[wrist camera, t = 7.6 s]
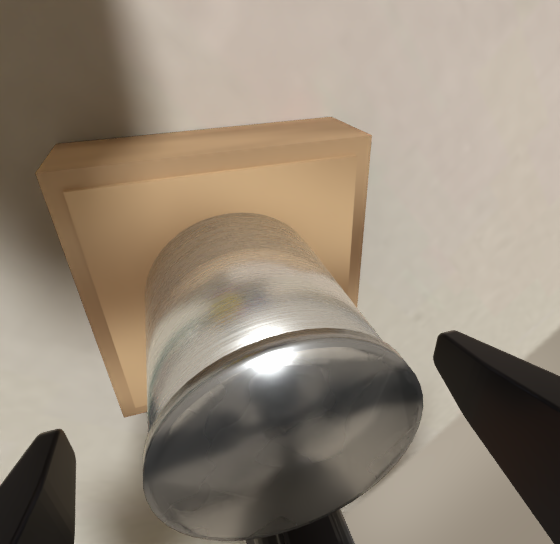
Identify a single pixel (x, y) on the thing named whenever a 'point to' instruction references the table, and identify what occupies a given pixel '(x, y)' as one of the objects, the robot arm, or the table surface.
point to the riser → (195, 213)
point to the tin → (263, 385)
